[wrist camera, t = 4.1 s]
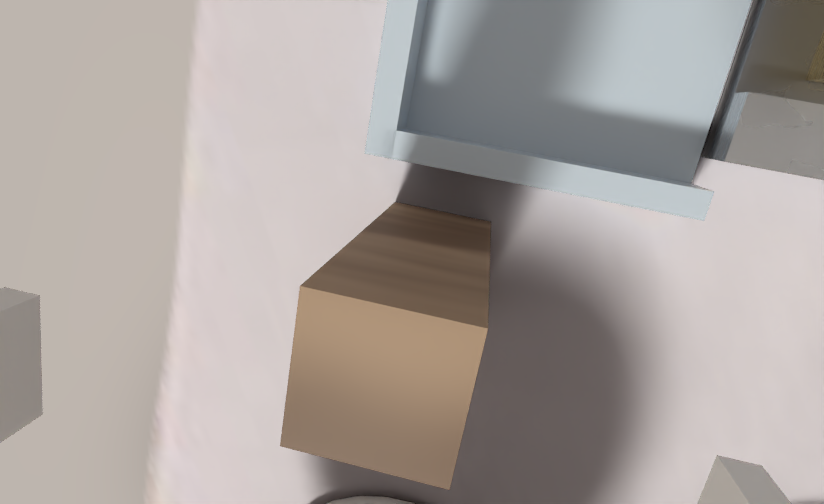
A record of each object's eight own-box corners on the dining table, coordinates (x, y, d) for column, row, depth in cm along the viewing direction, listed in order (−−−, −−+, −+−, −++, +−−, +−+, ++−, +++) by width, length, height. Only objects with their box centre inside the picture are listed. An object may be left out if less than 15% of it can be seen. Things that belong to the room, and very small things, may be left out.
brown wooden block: (395, 201, 21) (300, 285, 11) (490, 221, 21) (488, 328, 10) (379, 291, 23) (279, 445, 12) (470, 311, 22) (449, 489, 12)
